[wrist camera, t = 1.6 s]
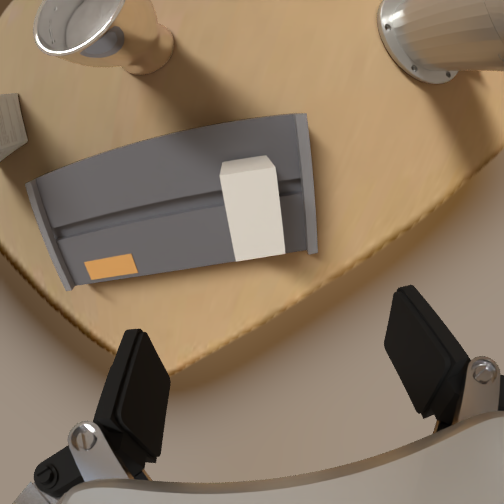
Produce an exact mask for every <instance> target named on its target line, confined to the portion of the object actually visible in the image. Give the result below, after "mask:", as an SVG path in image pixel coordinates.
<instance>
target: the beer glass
mask: <svg viewBox="0 0 504 504" xmlns="http://www.w3.org/2000/svg"><path fill="white" fill-rule="evenodd" d="M33 34H34V40H35V43H36V45H37V46H38V48H39V49H40V50H41V51H42V52H44V53H45V54H47V55H50V56H55V57H58V58H61V59H63V60H66V61H69V62H72V63H76V64H79V65H83V66H90V67H119V66H121V67H122V68H123V69H124V70H126V71H127V72H129V73H132V74H136V75H145V74H149V73H152V72H154V71H156V70H158V69H159V68H161V67H162V66H163V65H164V64H165V63H166V62H167V61H168V60H169V58H170V56H171V54H172V52H173V48H174V39H173V36H172V34H171V32H170V31H169V29H168V28H166V27H165V26H163V25H161V24H159V23H158V19H157V15H156V11H155V9H154V6H153V4H152V2H151V0H43V2H42V3H41V5H40V7H39V9H38V11H37V14H36V17H35V21H34V27H33Z"/></svg>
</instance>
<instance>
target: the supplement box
mask: <svg viewBox="0 0 504 504" xmlns="http://www.w3.org/2000/svg"><path fill="white" fill-rule="evenodd" d="M27 142H28V139H27V135H26V132H25V127H24V123H23V119H22V115H21V110H20V105H19V100H18V94H17V93H12V94H1V95H0V161H1V160H3V159H4V158H5V157H7V156H8V155H9V154H11V153H12V152H14V151H15V150H16V149H18V148H19V147H21V146H22V145H24V144H25V143H27Z"/></svg>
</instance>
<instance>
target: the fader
mask: <svg viewBox="0 0 504 504" xmlns="http://www.w3.org/2000/svg"><path fill="white" fill-rule="evenodd" d="M220 182H221V187H222V192H223V198H224V203H225V208H226V213H227V219H228V224H229V229H230V234H231V239H232V245H233V250H234V255H235V260H236V262H237V261H243V260H249V259H256V258H262V257H268V256H275V255H281V254H285V244H284V235H283V225H282V216H281V208H280V199H279V191H278V183H277V175H276V167H275V166H274V165H273V163H272V162H271V161H270V159H269V158H268V157H267V155H264V156H257V157H250V158H244V159H237V160H231V161H225V162H222V166H221V171H220Z"/></svg>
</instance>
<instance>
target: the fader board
mask: <svg viewBox="0 0 504 504" xmlns="http://www.w3.org/2000/svg"><path fill="white" fill-rule="evenodd" d="M264 155H267V157H268V158H269V159H270V161H271V162H272V163H273V165H274V166H275V167H276V175H277V183H278V191H279V199H280V208H281V216H282V225H283V235H284V244H285V253H291V252H297V251H303V250H307V252H308V254H314V253H318V245H317V225H316V209H315V195H314V182H313V170H312V159H311V149H310V140H309V131H308V122H307V114H306V113H293V114H283V115H274V116H265V117H257V118H250V119H243V120H237V121H230V122H225V123H219V124H213V125H208V126H203V127H198V128H193V129H188V130H184V131H179V132H175V133H171V134H166V135H162V136H158V137H154V138H151V139H147V140H143V141H139V142H136V143H132V144H129V145H125V146H122V147H119V148H116V149H112V150H109V151H106V152H103V153H100V154H97V155H94V156H91V157H88V158H85V159H83V160H80V161H77V162H74V163H72V164H69V165H66V166H64V167H61V168H59V169H56V170H54V171H51V172H49V173H47V174H44V175H42V176H40V177H38V178H36V179H34V180H32V181H30V182H28V183H26V184H25V186H26V190H27V193H28V196H29V200H30V203H31V206H32V209H33V212H34V215H35V218H36V221H37V224H38V226H39V229H40V232H41V234H42V237H43V240H44V242H45V245H46V247H47V250H48V252H49V254H50V257H51V259H52V262H53V264H54V266H55V268H56V271H57V273H58V275H59V277H60V279H61V281H62V283H63V286H64V288H65V290H66V291H69V290H72V289H73V288H74V286H76V285H83V284H90V283H97V282H103V281H110V280H117V279H123V278H130V277H137V276H143V275H150V274H157V273H163V272H170V271H176V270H183V269H189V268H196V267H202V266H209V265H215V264H221V263H228V262H234V261H236V260H235V255H234V250H233V245H232V239H231V234H230V229H229V224H228V219H227V213H226V208H225V203H224V198H223V192H222V187H221V182H220V171H221V166H222V162H225V161H231V160H237V159H244V158H250V157H257V156H264Z"/></svg>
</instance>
